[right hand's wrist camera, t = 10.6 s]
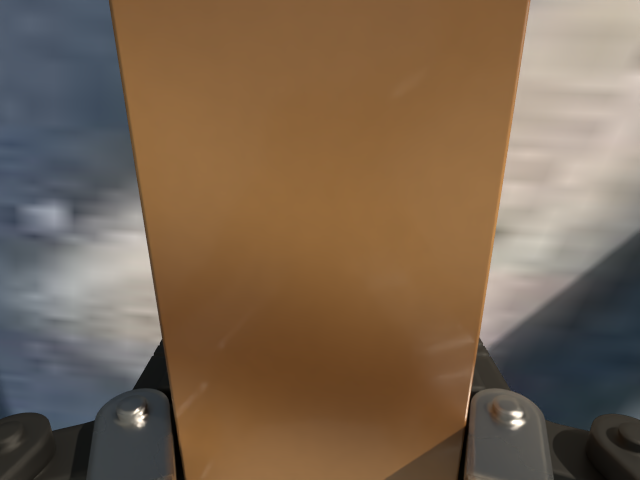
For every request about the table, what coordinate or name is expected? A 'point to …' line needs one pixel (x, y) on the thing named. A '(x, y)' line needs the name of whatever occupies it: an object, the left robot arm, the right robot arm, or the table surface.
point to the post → (320, 222)
